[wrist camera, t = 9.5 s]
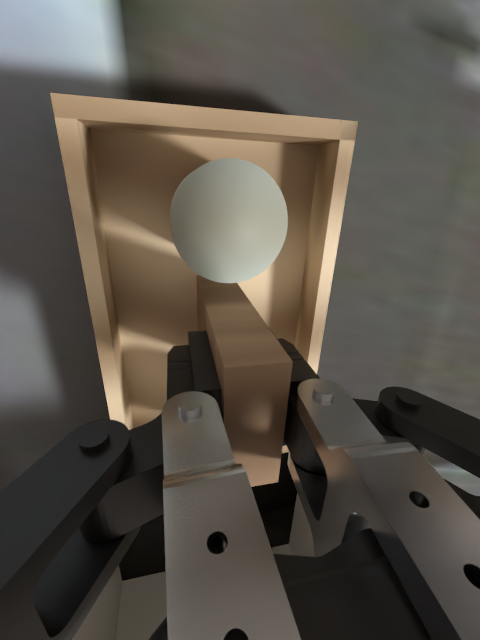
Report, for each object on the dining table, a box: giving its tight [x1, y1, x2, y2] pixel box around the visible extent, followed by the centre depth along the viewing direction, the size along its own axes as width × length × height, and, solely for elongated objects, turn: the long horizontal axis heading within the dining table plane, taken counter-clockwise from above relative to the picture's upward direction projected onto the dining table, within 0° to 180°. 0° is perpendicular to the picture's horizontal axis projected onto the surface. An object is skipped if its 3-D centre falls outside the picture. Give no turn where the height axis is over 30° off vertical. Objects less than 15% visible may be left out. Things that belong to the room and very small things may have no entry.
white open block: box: [72, 492, 315, 640], centre depth 17 cm, size 16×14×13 cm
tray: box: [50, 93, 358, 487], centre depth 11 cm, size 16×10×8 cm, turn 178°
